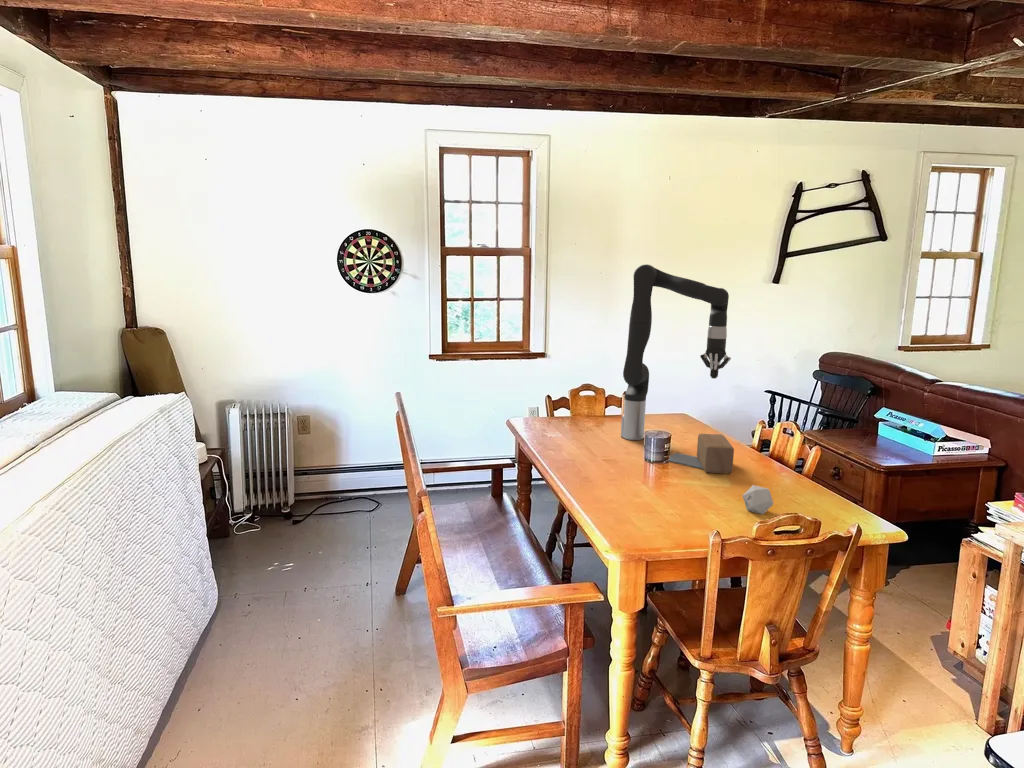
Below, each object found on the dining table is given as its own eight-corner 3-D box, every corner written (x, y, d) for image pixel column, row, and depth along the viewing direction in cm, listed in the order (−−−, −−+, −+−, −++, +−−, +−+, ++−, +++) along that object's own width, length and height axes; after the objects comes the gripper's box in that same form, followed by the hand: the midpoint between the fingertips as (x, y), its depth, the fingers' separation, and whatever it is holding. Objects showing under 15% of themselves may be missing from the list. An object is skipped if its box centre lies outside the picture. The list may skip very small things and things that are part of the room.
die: (741, 506, 219) (735, 488, 213) (765, 494, 218) (759, 475, 213) (756, 524, 212) (750, 505, 206) (780, 511, 212) (775, 492, 206)
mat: (661, 460, 266) (661, 458, 266) (676, 453, 275) (676, 452, 275) (709, 471, 253) (710, 469, 253) (723, 464, 262) (723, 462, 262)
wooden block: (723, 433, 266) (734, 447, 246) (722, 458, 267) (732, 474, 248) (697, 432, 267) (706, 446, 247) (696, 457, 268) (704, 472, 249)
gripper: (697, 336, 282) (695, 377, 285) (728, 339, 273) (725, 381, 277) (705, 334, 287) (703, 375, 291) (736, 337, 279) (732, 379, 282)
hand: (713, 378), depth 284 cm, fingers closed
